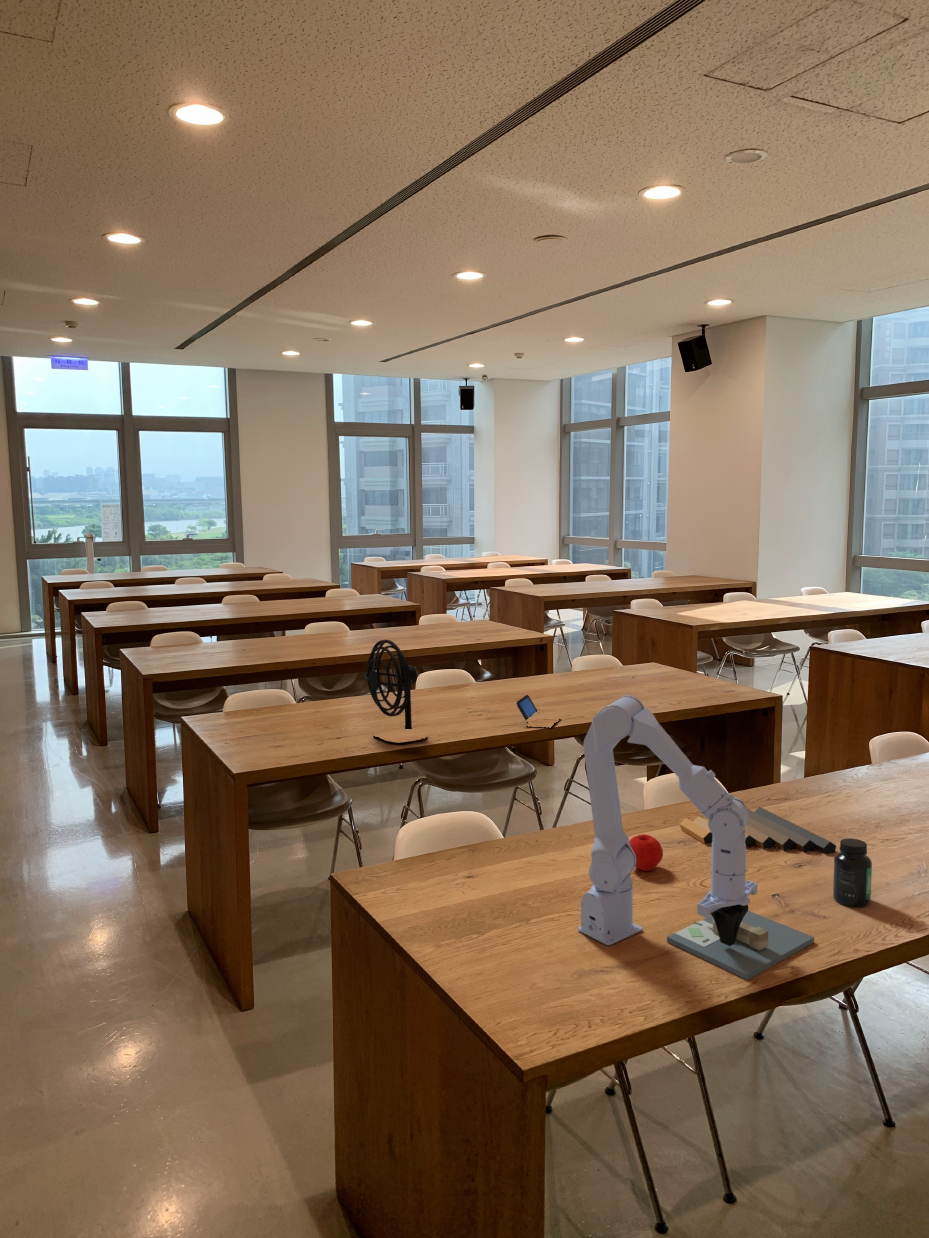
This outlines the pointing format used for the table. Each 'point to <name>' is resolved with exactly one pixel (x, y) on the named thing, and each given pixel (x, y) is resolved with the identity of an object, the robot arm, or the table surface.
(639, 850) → the apple
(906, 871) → the table surface
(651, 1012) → the table surface
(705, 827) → the pan flute
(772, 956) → the grey square board
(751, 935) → the peg lever
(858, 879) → the supplement bottle
